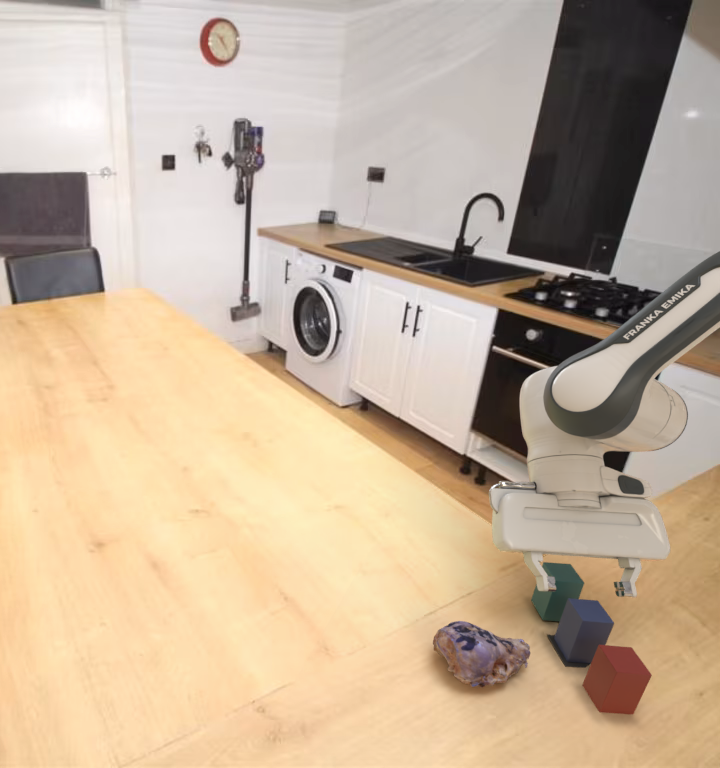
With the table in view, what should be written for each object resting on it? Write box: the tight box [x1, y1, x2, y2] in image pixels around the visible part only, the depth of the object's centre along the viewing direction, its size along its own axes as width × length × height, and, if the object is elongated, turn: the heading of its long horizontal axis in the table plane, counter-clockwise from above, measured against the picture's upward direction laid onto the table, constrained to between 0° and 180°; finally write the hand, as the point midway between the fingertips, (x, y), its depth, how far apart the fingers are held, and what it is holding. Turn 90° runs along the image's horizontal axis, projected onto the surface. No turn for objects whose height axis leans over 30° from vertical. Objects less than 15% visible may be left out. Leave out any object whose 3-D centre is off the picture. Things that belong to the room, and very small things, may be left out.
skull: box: [432, 620, 531, 688], centre depth 66 cm, size 12×8×6 cm, turn 90°
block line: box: [530, 561, 653, 715], centre depth 68 cm, size 5×17×7 cm, turn 174°
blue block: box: [554, 598, 615, 665], centre depth 68 cm, size 4×4×7 cm
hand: (586, 594), depth 67 cm, fingers open, 8 cm apart
